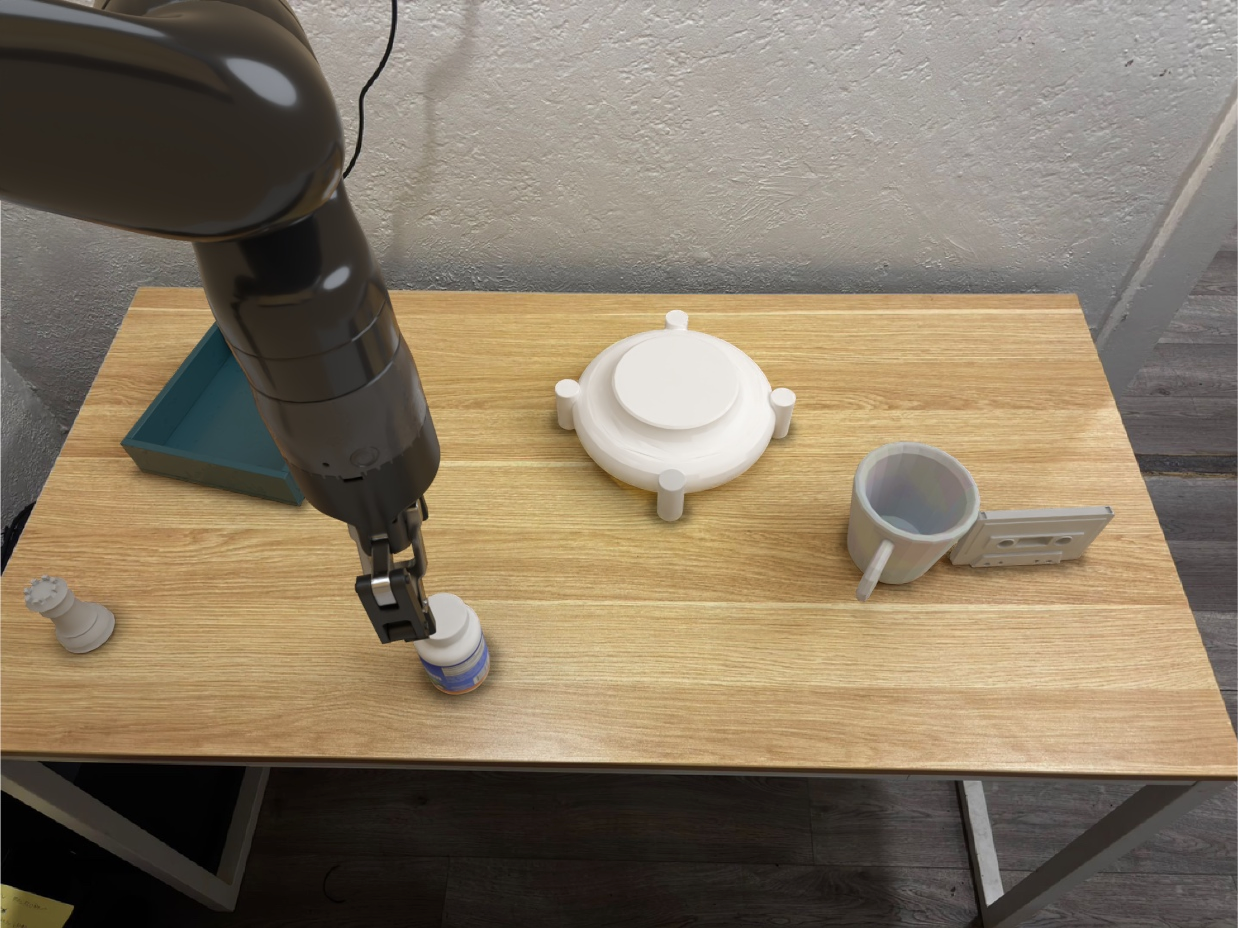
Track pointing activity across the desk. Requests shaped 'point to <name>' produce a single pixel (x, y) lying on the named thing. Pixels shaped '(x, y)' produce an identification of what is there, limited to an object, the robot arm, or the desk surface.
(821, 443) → the desk surface
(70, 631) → the rook chess piece
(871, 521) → the mug
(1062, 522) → the cassette
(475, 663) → the pill bottle
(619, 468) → the round stand with pegs
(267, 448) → the shallow teal tray
